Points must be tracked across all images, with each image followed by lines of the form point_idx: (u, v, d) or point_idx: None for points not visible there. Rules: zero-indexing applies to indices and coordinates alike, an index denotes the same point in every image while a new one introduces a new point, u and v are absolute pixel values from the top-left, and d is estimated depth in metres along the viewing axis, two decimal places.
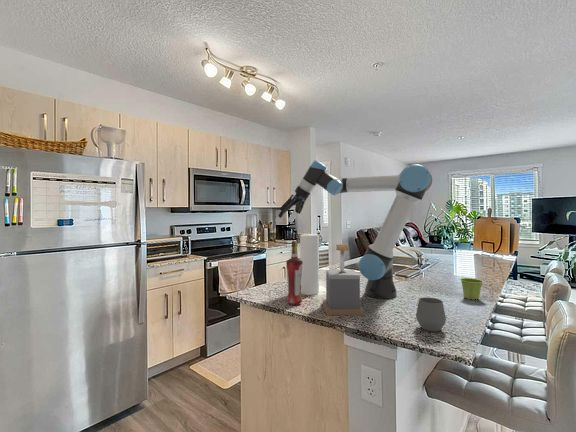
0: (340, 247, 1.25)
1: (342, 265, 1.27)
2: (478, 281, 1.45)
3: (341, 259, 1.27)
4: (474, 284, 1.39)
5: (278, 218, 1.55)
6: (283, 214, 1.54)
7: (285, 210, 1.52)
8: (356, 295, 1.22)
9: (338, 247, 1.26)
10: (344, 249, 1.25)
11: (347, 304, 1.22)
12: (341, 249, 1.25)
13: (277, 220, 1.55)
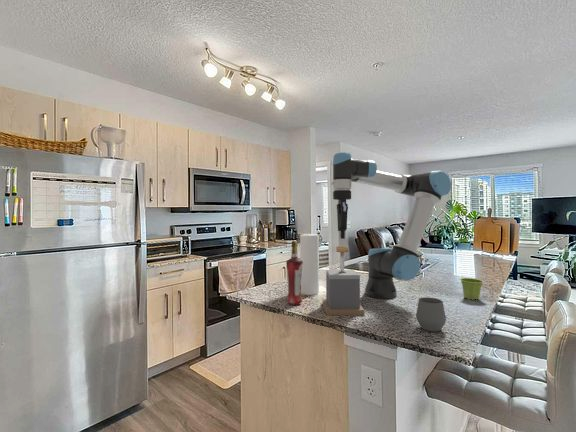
0: (340, 249, 1.26)
1: (342, 267, 1.27)
2: (478, 281, 1.45)
3: (341, 261, 1.27)
4: (474, 284, 1.39)
5: (341, 241, 1.27)
6: None
7: None
8: (356, 295, 1.22)
9: (338, 249, 1.26)
10: (344, 251, 1.25)
11: (347, 304, 1.22)
12: (341, 251, 1.25)
13: (342, 244, 1.27)
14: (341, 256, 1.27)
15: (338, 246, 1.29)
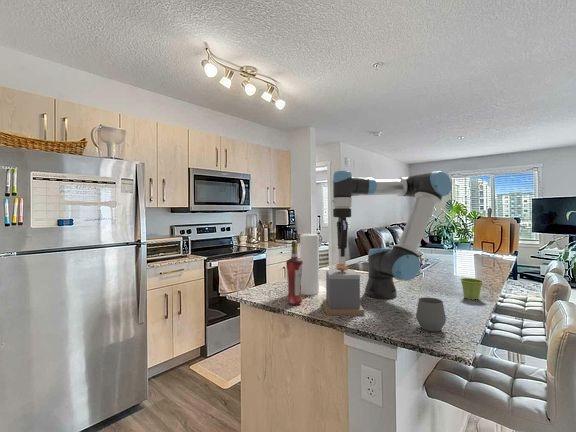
0: (340, 267, 1.26)
1: None
2: (478, 281, 1.45)
3: None
4: (474, 284, 1.39)
5: (341, 259, 1.27)
6: None
7: None
8: (356, 295, 1.22)
9: (338, 267, 1.26)
10: (344, 269, 1.25)
11: (347, 304, 1.22)
12: (341, 269, 1.25)
13: (342, 261, 1.27)
14: None
15: None
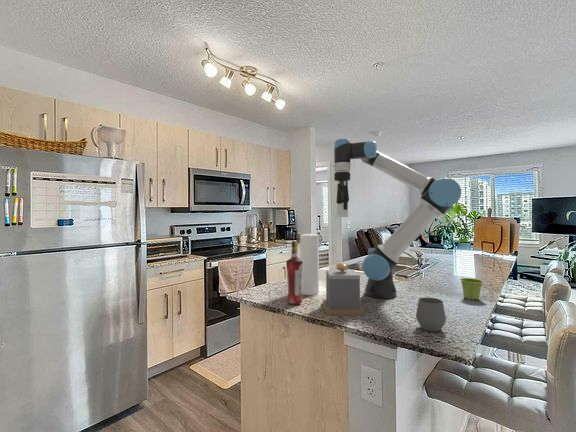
0: (340, 267, 1.26)
1: None
2: (478, 281, 1.45)
3: None
4: (474, 284, 1.39)
5: (344, 212, 1.37)
6: (347, 204, 1.37)
7: None
8: (356, 295, 1.22)
9: (338, 266, 1.26)
10: (344, 269, 1.25)
11: (347, 304, 1.22)
12: (341, 269, 1.25)
13: (344, 214, 1.37)
14: None
15: None
